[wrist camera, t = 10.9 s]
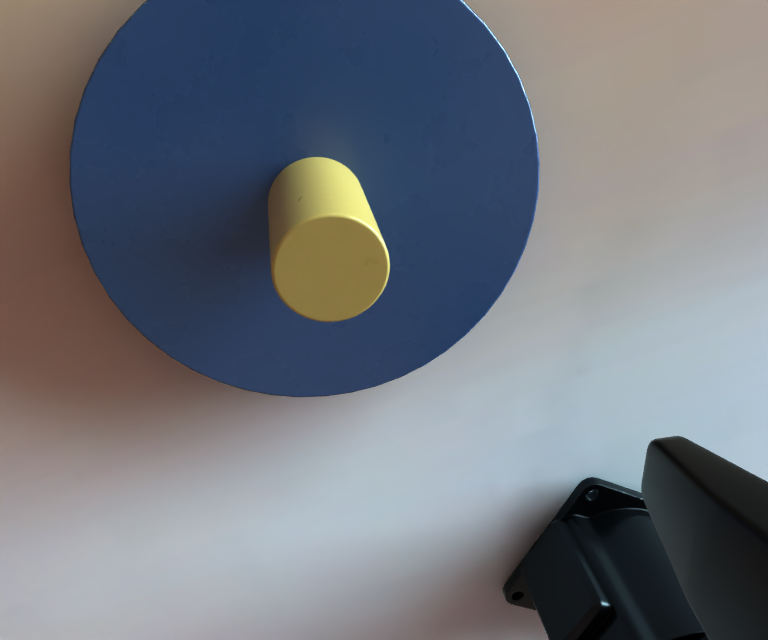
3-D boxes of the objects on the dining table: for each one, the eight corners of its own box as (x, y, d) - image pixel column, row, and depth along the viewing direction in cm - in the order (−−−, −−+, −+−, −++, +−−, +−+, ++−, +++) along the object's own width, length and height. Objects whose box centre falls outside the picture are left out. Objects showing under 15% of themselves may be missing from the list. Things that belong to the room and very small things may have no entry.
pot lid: (508, 362, 25) (572, 470, 20) (120, 394, 23) (84, 520, 18) (549, -59, 19) (654, -56, 14) (29, -59, 17) (-63, -56, 12)
